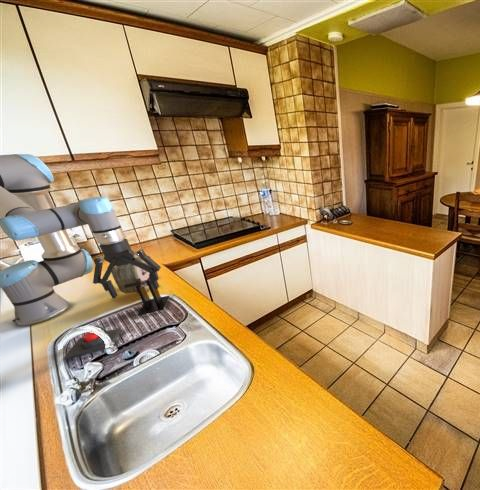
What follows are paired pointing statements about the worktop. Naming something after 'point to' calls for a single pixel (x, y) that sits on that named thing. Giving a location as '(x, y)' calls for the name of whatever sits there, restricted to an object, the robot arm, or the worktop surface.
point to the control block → (90, 345)
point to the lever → (137, 284)
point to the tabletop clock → (129, 276)
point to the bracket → (150, 305)
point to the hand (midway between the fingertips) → (136, 292)
